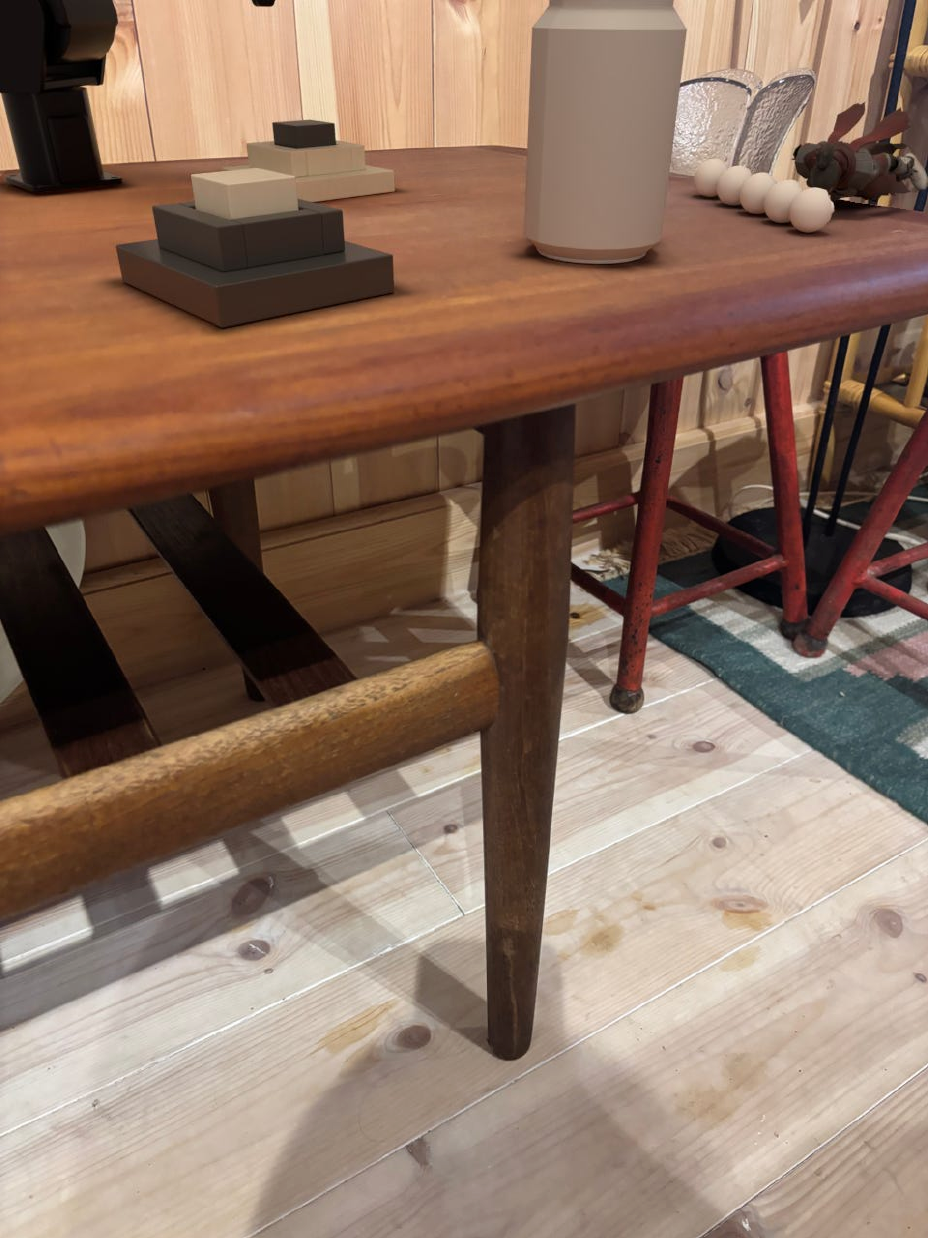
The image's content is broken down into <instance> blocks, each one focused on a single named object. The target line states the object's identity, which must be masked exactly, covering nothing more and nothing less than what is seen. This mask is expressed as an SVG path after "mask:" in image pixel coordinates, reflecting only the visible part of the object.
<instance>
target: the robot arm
mask: <svg viewBox="0 0 928 1238" xmlns="http://www.w3.org/2000/svg"><path fill="white" fill-rule="evenodd" d="M275 2H276V0H251V3H252V4H253V5H254V7H257V8H271V7H273V6H274V5H275ZM118 25H119V19H118V12H117V8H116V6H115V3H114V0H0V95H1V99H2V104H3V107H4V111H5V117H6V120H7V124H8V128H9V133H10V137H11V139H12V140H11V141H12V144H13V149H14V152H15V156H16V161H17V164H18V169H19V173H18V174H8V175H5V180H6V183H8V184H10V185H12V186H16V187H17V188H20V189H24V190H26V191H29V192H31V193H38V194H39V193H50V192H59V191H68V190H78V189H79V190H80V189H88V188H99V187H109V186H116V185H117V186H119V185H123V183H124V182H123V178H122V176H119V175H117V174H112V173H109V172H106V171H104V168H103V163H102V159H101V153H100V148H99V143H98V138H97V133H96V128H95V124H94V118H93V113H92V108H91V103H90V102H91V101H90V98H89V93H88V87H99V86H103V85H104V82H105V74H106V63H107V55H108V53H109V52H110V50H111V48H112V46H113V44H114V42H115V37H116V29H117V27H118ZM87 86H88V87H87Z"/></svg>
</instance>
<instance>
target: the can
mask: <svg viewBox="0 0 928 1238" xmlns="http://www.w3.org/2000/svg"><path fill="white" fill-rule="evenodd" d="M674 1H675V0H548V6H547V7H546V9H545V10H544V11H543V13H542V14H541V15H540V17H539V18H538V19H537V20H536V22H535V23H534V24H533V26H532V27H531V40H530V41H531V45H530V67H529V89H528V91H529V93H528V118H527V141H526V142H527V143H526V166H525V167H526V168H525V190H524V191H525V192H524V214H523V217H524V218H523V235H524V236H525V237H526V238H527V239H528V241H530V242H531V243H532V244H533V245H534V247H535V248H536V251H537V252H538V253H539V255H541V256H544V257H546V258H549V259H551V260H556V261H561V262H568V263H573V264H574V263H575V264H588V265H589V264H590V265H592V264H593V265H608V264H622V263H629V262H633V261H636V260H640V259H642V258H643V257H645V256H646V255H647V254H646V253H647V252H648V251H650V250H651V249H652V248H653V247H654V246H656V245H657V244H658V243H659V242H660V241H661V240H662V237H663V228H664V220H665V211H666V206H667V205H666V204H667V196H668V188H669V179H670V171H671V164H672V154H673V146H674V139H675V131H676V122H677V116H678V115H677V114H678V107H679V99H680V98H679V97H680V89H681V80H682V75H683V74H682V72H683V65H684V56H685V49H686V48H685V47H686V41H687V40H686V39H687V33H688V29H687V27H686V25H685V24H684V22H683V20H682V19H681V17H680V16H679V14H678V12H677V10H676V9H675V7H674Z"/></svg>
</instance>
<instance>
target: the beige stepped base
mask: <svg viewBox="0 0 928 1238" xmlns="http://www.w3.org/2000/svg"><path fill="white" fill-rule="evenodd" d="M365 147H366V146H365V144H361V143H355V142H348V141H342V140H338V139H337V140H336V145H332V146H322V147H311V148H300V149H294V148H289V147H283V146H278V145H274V140H270V141H269V140H267V141H257V142H255V141H254V142H247V143H246V152H247V153H246V154H247V162H248V164H244V165H243V164H242V165H234V166H233V165H231V166H223V167H221V169H220V170H221V171H231V170H240V169H250V168H260V169H264V170H269V171H273V172H277V173H282V174H286V175H291V176H295V178H296V189H297V199H301V200H305V201H309V202H313V203H317V202H318V203H319V202H325V201H332V200H340V199H347V198H348V199H349V198H355V197H364V196H369V195H379V194H385V193H393V192H396V191H395V190H396V189H395V170H393V169H388V168H383V167H378V166H372V165H369V164H368V165H367V164H366V149H365Z"/></svg>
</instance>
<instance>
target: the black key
mask: <svg viewBox="0 0 928 1238" xmlns="http://www.w3.org/2000/svg"><path fill="white" fill-rule="evenodd" d="M271 125H272V134H273V135H272V136H273V141H274V145H278V146H283V147H289V148H294V149H300V148H311V147H322V146H332V145H336V138H337V137H336V124H335V122H329V121H322V120H316V119H299V120H298V119H297V120H287V121H286V120H283V121H273V122H272V123H271Z"/></svg>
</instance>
